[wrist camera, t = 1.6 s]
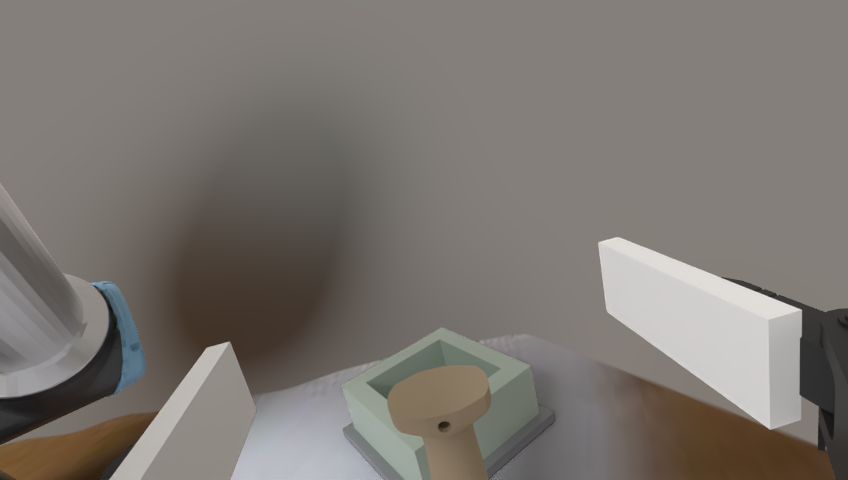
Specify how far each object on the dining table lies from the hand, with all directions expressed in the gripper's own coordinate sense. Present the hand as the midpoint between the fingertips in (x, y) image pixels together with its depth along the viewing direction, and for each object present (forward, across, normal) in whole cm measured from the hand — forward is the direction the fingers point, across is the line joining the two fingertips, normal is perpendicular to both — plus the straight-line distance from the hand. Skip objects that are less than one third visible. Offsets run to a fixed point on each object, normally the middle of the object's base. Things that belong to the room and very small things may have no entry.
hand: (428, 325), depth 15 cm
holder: (+24, 0, -24) cm, 34 cm away
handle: (+10, 0, -24) cm, 26 cm away
